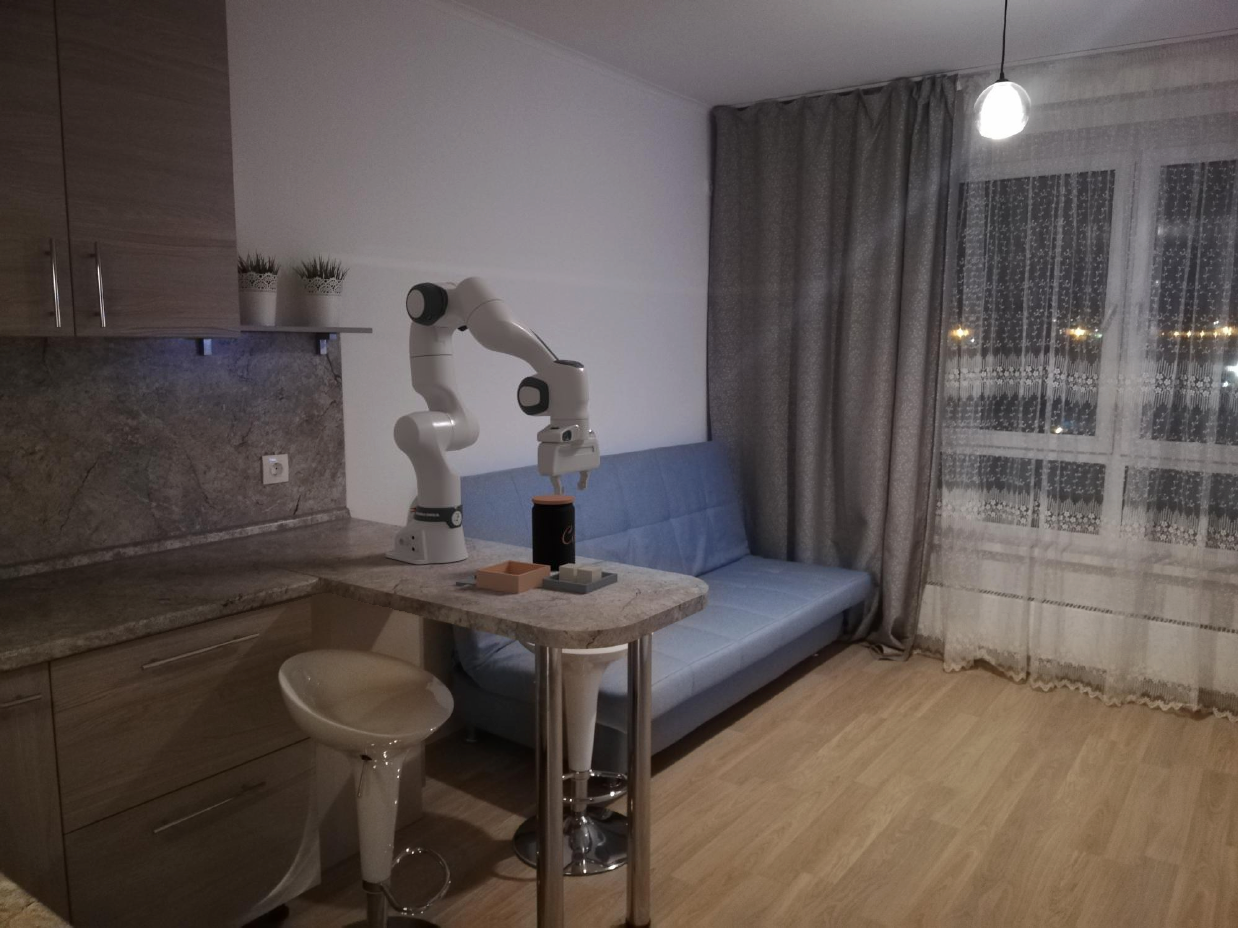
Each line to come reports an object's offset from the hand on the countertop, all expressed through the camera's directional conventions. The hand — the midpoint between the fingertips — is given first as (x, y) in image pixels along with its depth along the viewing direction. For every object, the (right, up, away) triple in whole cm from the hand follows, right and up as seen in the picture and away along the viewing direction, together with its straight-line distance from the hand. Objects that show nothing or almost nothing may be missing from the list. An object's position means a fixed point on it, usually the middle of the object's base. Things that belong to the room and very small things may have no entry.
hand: (570, 492), depth 210 cm
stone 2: (+4, -21, 0) cm, 22 cm away
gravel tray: (+2, -22, +1) cm, 22 cm away
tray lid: (-22, -21, +6) cm, 31 cm away
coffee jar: (-5, -20, +20) cm, 29 cm away
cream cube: (0, -21, +2) cm, 21 cm away
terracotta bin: (-13, -22, +1) cm, 26 cm away
